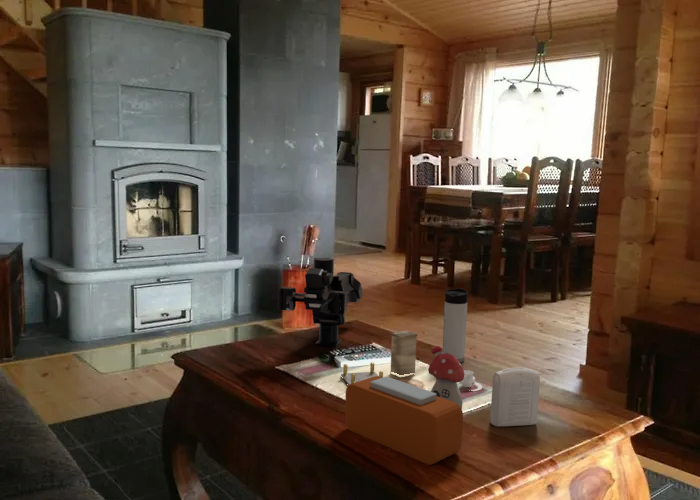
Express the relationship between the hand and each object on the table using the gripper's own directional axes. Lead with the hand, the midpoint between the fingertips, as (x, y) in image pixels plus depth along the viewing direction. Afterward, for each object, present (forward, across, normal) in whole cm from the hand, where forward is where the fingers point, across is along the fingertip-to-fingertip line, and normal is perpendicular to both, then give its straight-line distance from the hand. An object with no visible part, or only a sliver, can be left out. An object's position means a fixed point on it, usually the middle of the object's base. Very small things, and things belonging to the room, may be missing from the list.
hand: (303, 307), depth 174 cm
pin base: (+5, +18, +16) cm, 25 cm away
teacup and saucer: (-1, +46, +17) cm, 49 cm away
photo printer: (+21, +55, +16) cm, 61 cm away
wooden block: (-4, +26, +16) cm, 31 cm away
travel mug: (-21, +38, +17) cm, 47 cm away
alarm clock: (+37, +33, +17) cm, 52 cm away
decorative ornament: (+21, +40, +16) cm, 48 cm away
